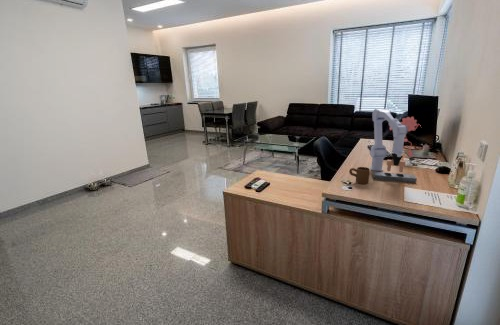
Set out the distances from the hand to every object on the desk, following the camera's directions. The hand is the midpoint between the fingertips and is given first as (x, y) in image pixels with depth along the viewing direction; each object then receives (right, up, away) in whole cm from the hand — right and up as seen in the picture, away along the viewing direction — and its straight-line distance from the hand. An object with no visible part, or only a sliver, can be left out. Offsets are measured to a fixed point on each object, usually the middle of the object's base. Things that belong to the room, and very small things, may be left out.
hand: (395, 164), depth 163 cm
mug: (-24, -11, -1) cm, 27 cm away
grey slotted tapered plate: (0, -9, +3) cm, 10 cm away
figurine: (+37, +5, +51) cm, 63 cm away
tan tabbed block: (0, -4, +1) cm, 4 cm away
